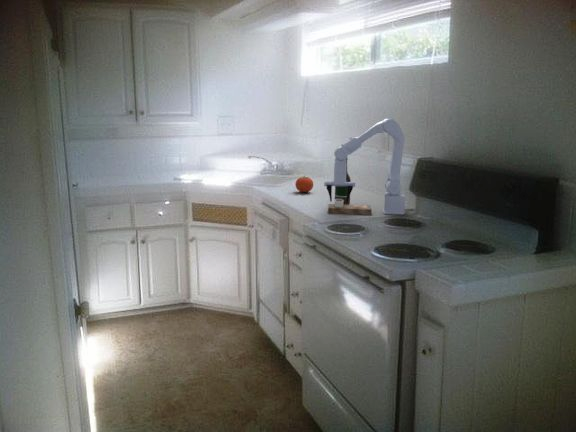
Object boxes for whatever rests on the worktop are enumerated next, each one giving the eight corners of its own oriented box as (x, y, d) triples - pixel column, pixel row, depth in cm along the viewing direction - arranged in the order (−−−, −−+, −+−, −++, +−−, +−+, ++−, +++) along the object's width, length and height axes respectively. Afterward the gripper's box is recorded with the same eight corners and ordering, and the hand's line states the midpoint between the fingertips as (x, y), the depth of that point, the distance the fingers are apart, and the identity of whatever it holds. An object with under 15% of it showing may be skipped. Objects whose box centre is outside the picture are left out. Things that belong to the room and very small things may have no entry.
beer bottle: (341, 202, 271) (342, 156, 266) (352, 204, 266) (355, 157, 261) (331, 204, 266) (333, 157, 261) (343, 206, 261) (345, 158, 255)
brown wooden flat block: (369, 210, 252) (369, 204, 252) (371, 214, 242) (371, 208, 242) (328, 209, 254) (328, 203, 253) (328, 213, 244) (328, 207, 243)
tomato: (313, 194, 294) (313, 176, 291) (295, 194, 294) (295, 176, 292) (312, 191, 304) (313, 174, 301) (295, 190, 304) (295, 173, 302)
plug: (342, 210, 250) (343, 198, 249) (343, 212, 246) (343, 200, 245) (334, 210, 251) (334, 198, 249) (334, 212, 247) (335, 199, 245)
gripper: (324, 173, 241) (323, 202, 244) (356, 174, 240) (354, 203, 243) (324, 171, 248) (323, 199, 251) (355, 172, 247) (354, 200, 250)
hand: (338, 201), depth 247 cm, fingers open, 7 cm apart
